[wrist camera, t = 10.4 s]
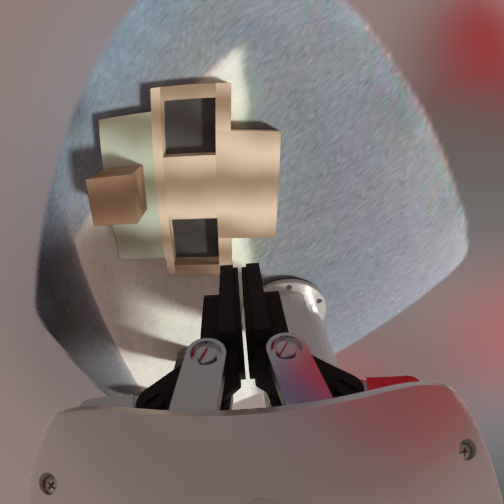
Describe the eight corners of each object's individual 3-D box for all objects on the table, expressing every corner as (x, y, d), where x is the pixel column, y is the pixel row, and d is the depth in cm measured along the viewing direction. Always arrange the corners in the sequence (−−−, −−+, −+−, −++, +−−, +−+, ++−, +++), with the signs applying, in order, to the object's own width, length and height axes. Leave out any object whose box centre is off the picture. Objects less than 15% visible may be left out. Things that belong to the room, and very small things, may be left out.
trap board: (270, 264, 36) (272, 273, 35) (128, 267, 35) (124, 275, 33) (279, 85, 25) (282, 84, 23) (105, 97, 24) (97, 97, 22)
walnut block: (147, 208, 29) (137, 223, 25) (107, 211, 28) (94, 226, 25) (142, 164, 26) (130, 174, 23) (101, 169, 26) (85, 179, 23)
